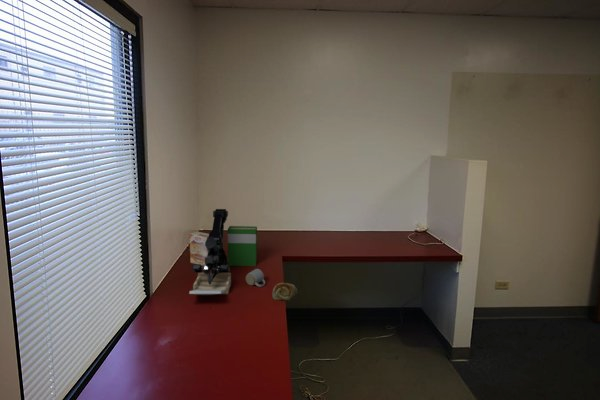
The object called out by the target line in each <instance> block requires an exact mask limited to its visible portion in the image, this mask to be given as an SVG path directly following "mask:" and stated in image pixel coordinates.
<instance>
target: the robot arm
mask: <svg viewBox="0 0 600 400" xmlns="http://www.w3.org/2000/svg"><path fill="white" fill-rule="evenodd" d="M212 217H213V223H212V227H211V228H212V229H211V230H210V232H209V233H208V234H209V237H208V238H207V240H206V242H205V246H206V248H207V251H208V255H207V257H205V265H206V266H202V265H201V264H194V263H193V264H192V269H191V270H192V271H193V273H195V274H198V273H205V274H207V278H208V283H209V284H211V282H212V281H213V279H214V277H215V276H216V275H217V274H219V273H231V272H230V270H231V269H230V266H229V265H228V255H227V254H226V251H225V249H224V232H225V231H224V230H225V228H224V227H225V223H226V221H227V220H228V217H229V211H228V210H227V209H226V208H215V210H213V211H212ZM210 273H211V277H210Z"/></svg>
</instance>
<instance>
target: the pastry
mask: <svg viewBox="0 0 600 400" xmlns="http://www.w3.org/2000/svg"><path fill="white" fill-rule="evenodd" d="M271 295H272V299H273V300H275V301H287V302H288V301H290V300H292V299H294V298H295V297H296V295H298V289H297V287H296V286H295V285H294V284H293V283H288V282H280V283H277V284H276V285H275V286H274V287H273V289H272V293H271Z"/></svg>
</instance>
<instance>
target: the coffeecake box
mask: <svg viewBox="0 0 600 400" xmlns="http://www.w3.org/2000/svg"><path fill="white" fill-rule="evenodd" d="M208 237H209V233H206V232H201V231H194V232H191V233H189V254H190V256H189V257H190V259H189V260H190V263H191V264H193V265H194V264H201V266H206V265H205V257H207V255H208V251H207V248H206V246H205V242H206V240H207V238H208Z"/></svg>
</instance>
